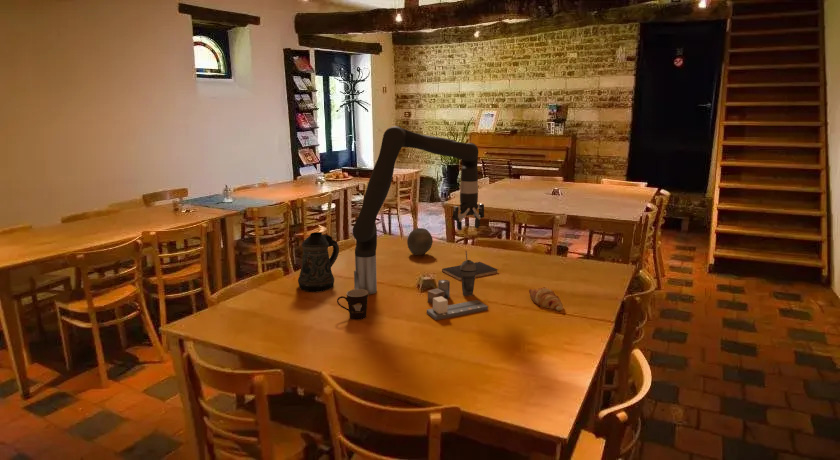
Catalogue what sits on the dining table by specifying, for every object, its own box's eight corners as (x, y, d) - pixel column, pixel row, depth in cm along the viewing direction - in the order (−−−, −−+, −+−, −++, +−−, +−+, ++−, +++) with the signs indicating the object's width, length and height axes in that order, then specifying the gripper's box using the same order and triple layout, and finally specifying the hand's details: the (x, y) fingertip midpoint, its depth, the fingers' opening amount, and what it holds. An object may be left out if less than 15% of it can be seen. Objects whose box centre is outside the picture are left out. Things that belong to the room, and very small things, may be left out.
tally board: (435, 320, 205) (435, 316, 205) (426, 313, 212) (426, 309, 212) (487, 309, 216) (487, 306, 215) (477, 303, 223) (477, 299, 222)
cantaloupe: (405, 258, 287) (404, 231, 283) (409, 250, 300) (409, 225, 297) (430, 259, 284) (430, 232, 281) (434, 252, 298) (434, 226, 294)
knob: (438, 314, 207) (438, 302, 206) (432, 309, 212) (432, 297, 210) (447, 312, 209) (447, 300, 208) (441, 307, 213) (441, 296, 212)
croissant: (566, 319, 215) (575, 301, 215) (550, 312, 210) (558, 294, 210) (533, 301, 234) (541, 284, 233) (518, 294, 228) (526, 277, 228)
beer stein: (291, 289, 239) (287, 236, 233) (314, 276, 257) (312, 226, 251) (322, 294, 233) (319, 239, 227) (344, 280, 251) (342, 229, 245)
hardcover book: (498, 273, 262) (498, 269, 261) (459, 281, 251) (459, 277, 250) (479, 265, 276) (479, 261, 275) (441, 272, 264) (441, 268, 264)
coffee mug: (372, 314, 212) (372, 290, 209) (363, 322, 204) (362, 298, 201) (346, 310, 215) (345, 287, 213) (336, 318, 207) (335, 294, 205)
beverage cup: (475, 297, 229) (476, 253, 224) (458, 296, 230) (459, 252, 226) (476, 291, 236) (477, 248, 231) (460, 290, 237) (461, 248, 233)
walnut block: (435, 305, 221) (435, 294, 220) (427, 302, 224) (427, 291, 223) (444, 302, 224) (444, 291, 223) (436, 299, 228) (436, 288, 226)
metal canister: (441, 299, 227) (441, 284, 225) (436, 295, 231) (436, 280, 230) (451, 297, 229) (451, 282, 227) (445, 294, 233) (446, 279, 232)
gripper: (478, 188, 227) (477, 225, 231) (449, 191, 221) (449, 228, 225) (488, 191, 221) (487, 229, 224) (458, 194, 214) (458, 232, 218)
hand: (468, 228), depth 225 cm, fingers open, 8 cm apart
